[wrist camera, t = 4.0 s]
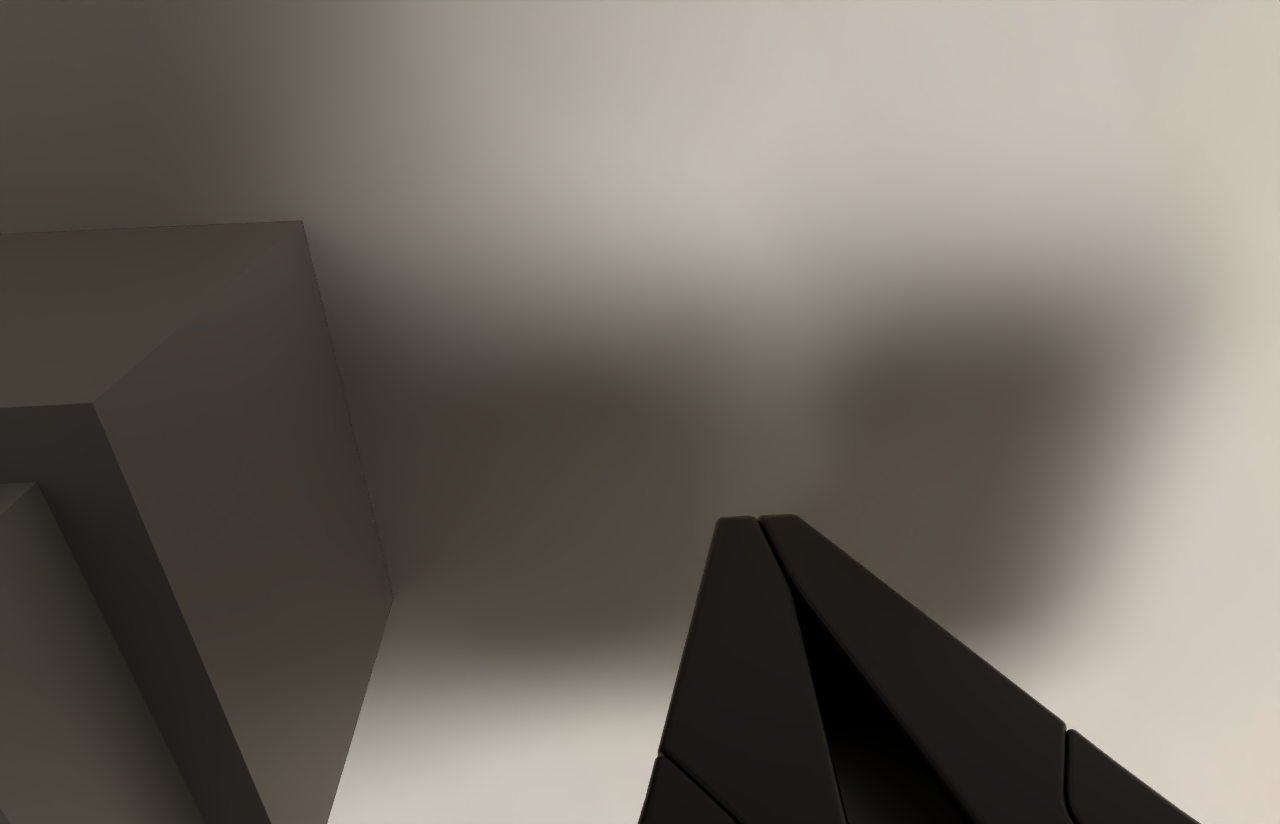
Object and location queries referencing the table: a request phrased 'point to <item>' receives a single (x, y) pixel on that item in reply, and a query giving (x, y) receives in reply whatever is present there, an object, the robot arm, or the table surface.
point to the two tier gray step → (177, 531)
